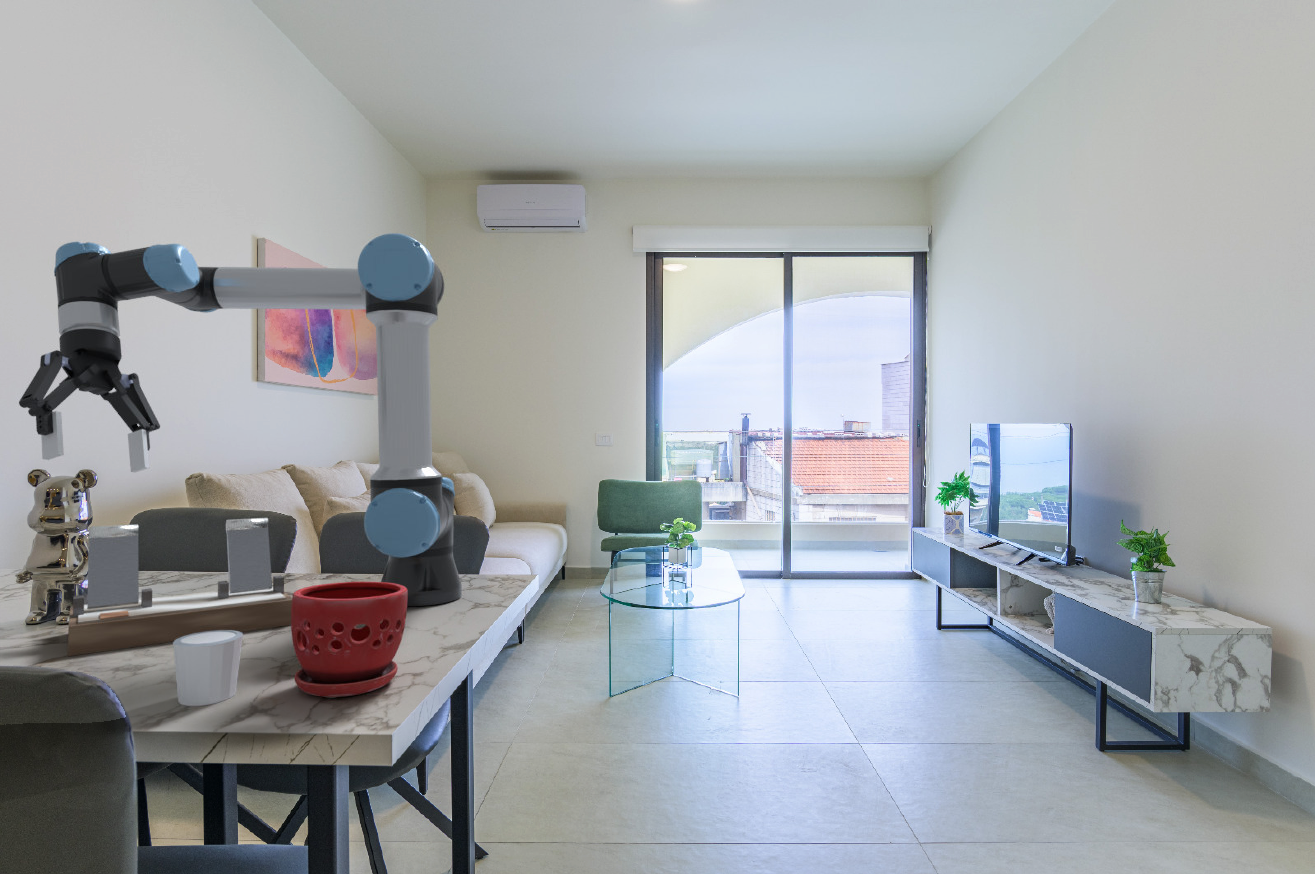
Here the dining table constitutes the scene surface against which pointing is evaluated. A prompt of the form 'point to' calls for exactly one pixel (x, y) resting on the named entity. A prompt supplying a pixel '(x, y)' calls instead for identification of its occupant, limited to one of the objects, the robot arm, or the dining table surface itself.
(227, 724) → the dining table surface
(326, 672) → the plant pot
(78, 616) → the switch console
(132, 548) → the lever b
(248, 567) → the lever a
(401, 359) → the robot arm
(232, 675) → the white cup
